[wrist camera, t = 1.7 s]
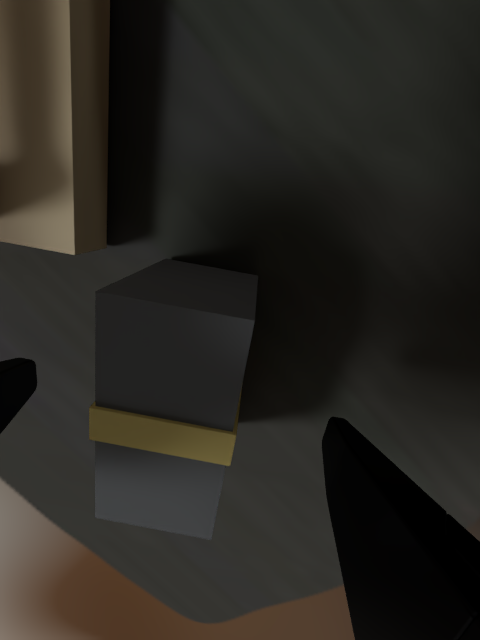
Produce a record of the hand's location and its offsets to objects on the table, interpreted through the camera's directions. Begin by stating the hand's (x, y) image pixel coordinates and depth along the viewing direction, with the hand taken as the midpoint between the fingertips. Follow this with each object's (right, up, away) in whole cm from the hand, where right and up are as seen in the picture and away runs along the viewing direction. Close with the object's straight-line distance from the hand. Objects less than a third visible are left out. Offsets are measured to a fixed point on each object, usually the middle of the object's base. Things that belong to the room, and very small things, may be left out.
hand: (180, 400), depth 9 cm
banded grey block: (0, +1, +3) cm, 4 cm away
